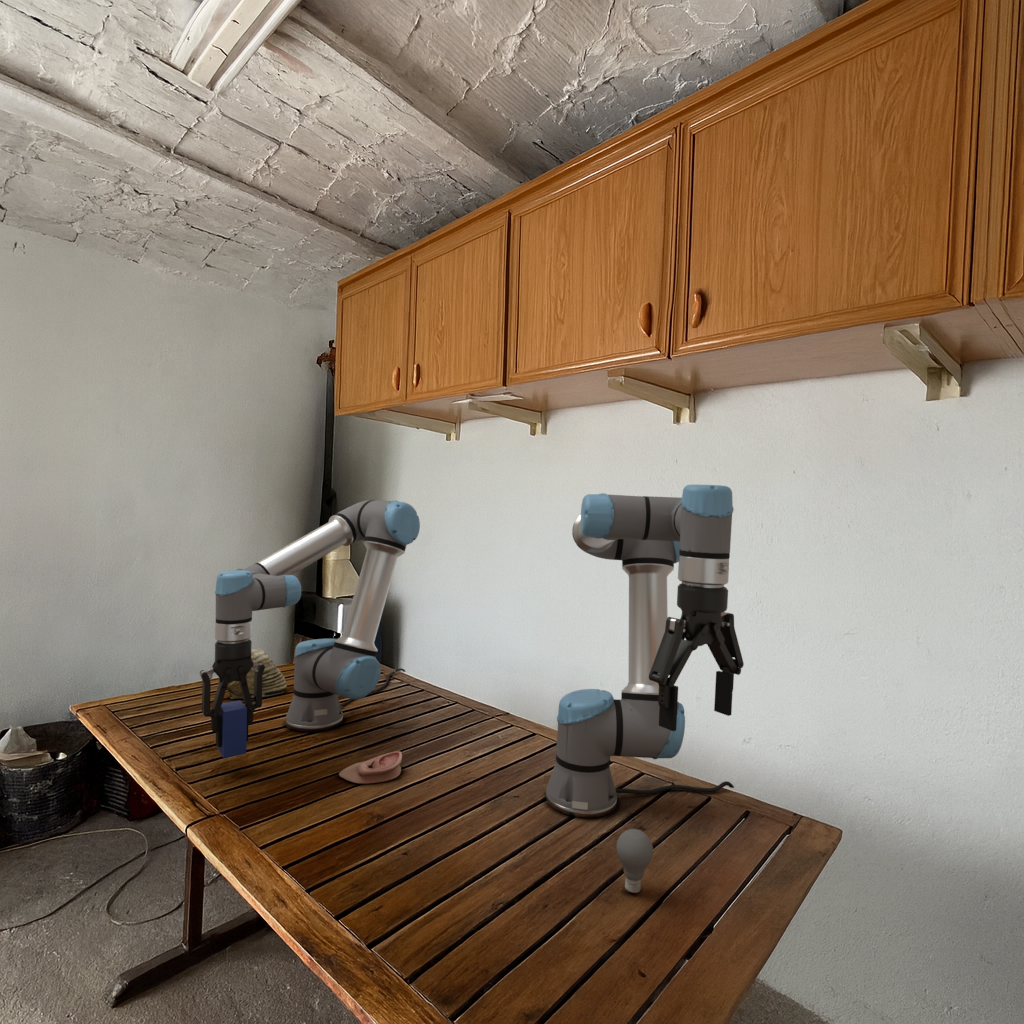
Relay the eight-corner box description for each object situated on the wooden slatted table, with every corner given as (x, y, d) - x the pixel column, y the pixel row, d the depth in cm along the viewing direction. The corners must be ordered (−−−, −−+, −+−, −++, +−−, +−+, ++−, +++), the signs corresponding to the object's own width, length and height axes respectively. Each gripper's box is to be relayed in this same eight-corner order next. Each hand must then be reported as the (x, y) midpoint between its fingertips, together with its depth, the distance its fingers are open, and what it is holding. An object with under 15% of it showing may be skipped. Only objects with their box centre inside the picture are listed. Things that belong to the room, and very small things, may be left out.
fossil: (218, 695, 195) (220, 647, 195) (278, 685, 208) (279, 640, 207) (228, 703, 189) (230, 653, 188) (289, 692, 201) (290, 645, 201)
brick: (223, 758, 139) (224, 711, 139) (217, 749, 144) (218, 703, 144) (246, 753, 142) (247, 707, 142) (239, 744, 147) (240, 700, 146)
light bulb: (610, 879, 108) (613, 822, 108) (644, 879, 109) (647, 822, 109) (619, 902, 102) (622, 840, 102) (655, 901, 103) (658, 840, 103)
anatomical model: (332, 762, 141) (355, 743, 152) (332, 780, 141) (355, 759, 153) (388, 770, 139) (407, 750, 150) (388, 788, 139) (407, 766, 150)
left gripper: (192, 648, 134) (191, 757, 135) (279, 638, 144) (277, 739, 145) (186, 641, 140) (185, 745, 141) (269, 632, 150) (268, 729, 151)
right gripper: (669, 591, 88) (661, 743, 88) (770, 584, 103) (763, 714, 103) (629, 584, 94) (622, 726, 94) (730, 578, 109) (723, 701, 109)
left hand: (231, 742), depth 143 cm, fingers closed on brick, 5 cm apart
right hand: (696, 720), depth 99 cm, fingers open, 13 cm apart
